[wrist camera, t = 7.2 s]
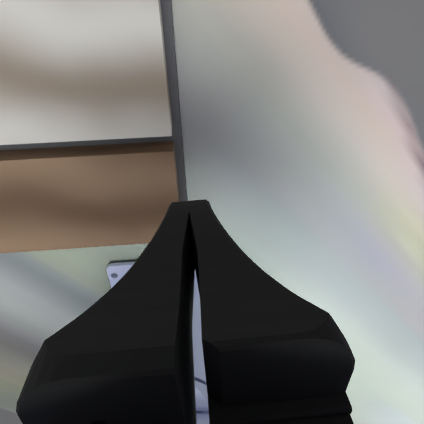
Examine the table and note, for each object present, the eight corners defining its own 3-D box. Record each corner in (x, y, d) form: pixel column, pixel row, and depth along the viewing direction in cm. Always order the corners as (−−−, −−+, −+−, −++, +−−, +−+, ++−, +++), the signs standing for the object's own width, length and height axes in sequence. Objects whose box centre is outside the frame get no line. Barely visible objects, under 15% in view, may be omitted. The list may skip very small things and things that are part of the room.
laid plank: (181, 227, 23) (182, 240, 22) (-143, 249, 22) (-162, 264, 21) (173, 141, 19) (173, 151, 18) (-218, 161, 18) (-247, 174, 17)
